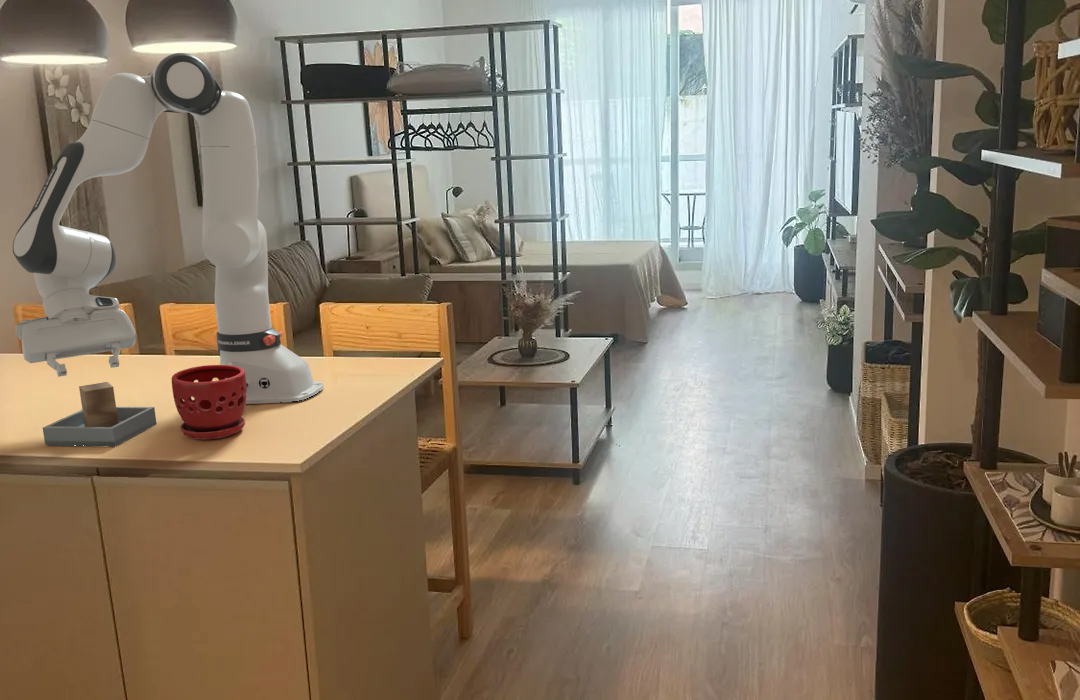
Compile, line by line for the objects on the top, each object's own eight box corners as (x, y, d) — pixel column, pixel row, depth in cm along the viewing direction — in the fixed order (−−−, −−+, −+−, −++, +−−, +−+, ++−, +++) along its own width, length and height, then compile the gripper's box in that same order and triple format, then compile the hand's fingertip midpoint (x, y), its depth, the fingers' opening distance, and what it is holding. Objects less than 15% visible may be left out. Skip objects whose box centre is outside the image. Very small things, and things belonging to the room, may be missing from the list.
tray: (156, 424, 185) (154, 407, 185) (114, 447, 172) (112, 428, 171) (91, 423, 187) (89, 406, 187) (45, 445, 174) (42, 427, 173)
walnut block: (113, 424, 183) (107, 381, 181) (119, 429, 179) (113, 386, 177) (85, 429, 180) (79, 386, 178) (90, 435, 176) (84, 391, 174)
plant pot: (164, 443, 173) (156, 380, 170) (201, 422, 186) (194, 363, 183) (230, 445, 171) (222, 381, 168) (263, 423, 183) (257, 364, 181)
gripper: (12, 312, 179) (29, 370, 173) (125, 297, 191) (145, 351, 185) (12, 331, 183) (29, 389, 178) (123, 316, 195) (142, 369, 190)
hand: (89, 370), depth 182 cm, fingers open, 8 cm apart
